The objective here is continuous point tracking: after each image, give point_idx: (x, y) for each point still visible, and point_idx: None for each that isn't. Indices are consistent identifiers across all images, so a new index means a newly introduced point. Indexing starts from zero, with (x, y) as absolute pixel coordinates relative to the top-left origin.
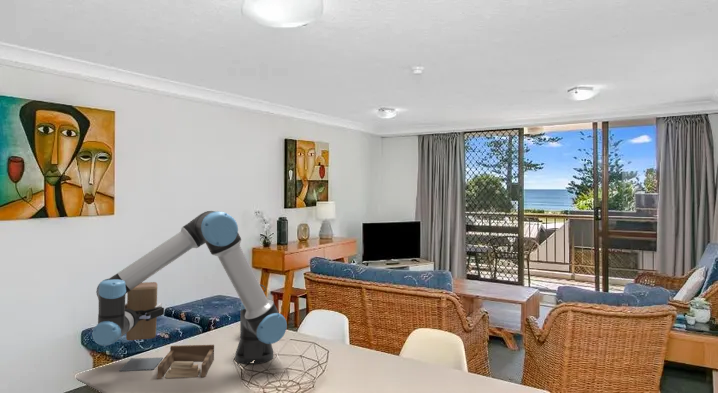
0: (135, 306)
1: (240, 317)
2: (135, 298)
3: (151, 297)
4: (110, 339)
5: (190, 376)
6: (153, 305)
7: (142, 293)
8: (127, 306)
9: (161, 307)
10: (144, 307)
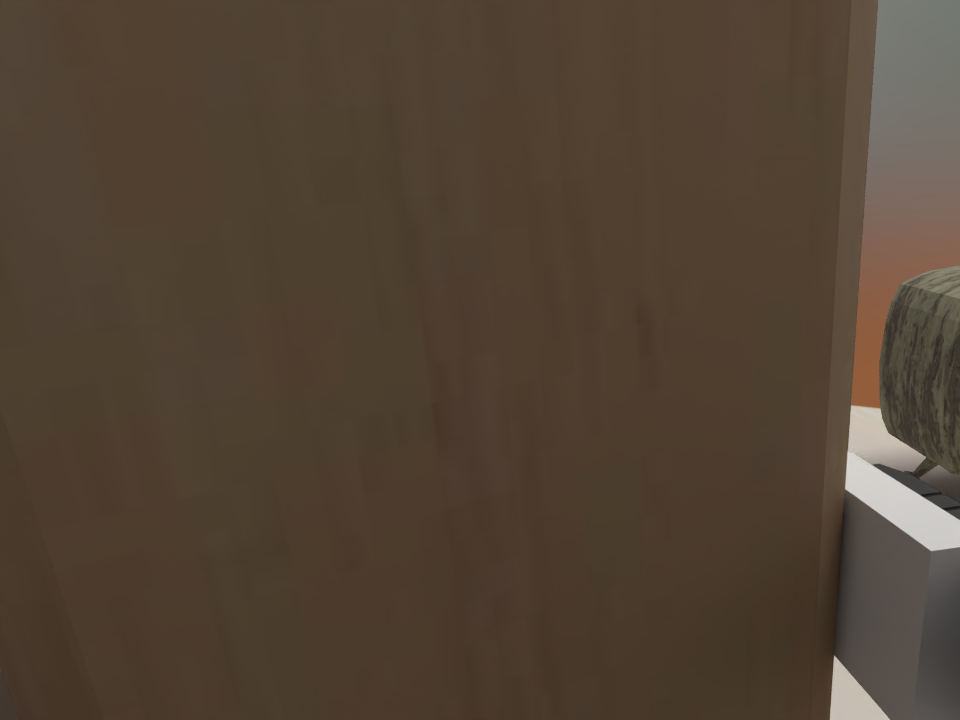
0: (323, 645)
1: (944, 395)
2: (251, 339)
3: (779, 249)
4: None
5: None
6: (825, 491)
7: (494, 97)
8: (9, 692)
9: (941, 496)
10: (609, 601)
